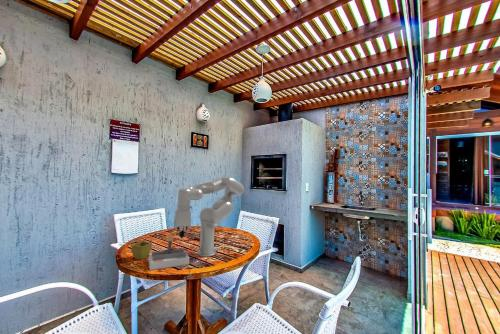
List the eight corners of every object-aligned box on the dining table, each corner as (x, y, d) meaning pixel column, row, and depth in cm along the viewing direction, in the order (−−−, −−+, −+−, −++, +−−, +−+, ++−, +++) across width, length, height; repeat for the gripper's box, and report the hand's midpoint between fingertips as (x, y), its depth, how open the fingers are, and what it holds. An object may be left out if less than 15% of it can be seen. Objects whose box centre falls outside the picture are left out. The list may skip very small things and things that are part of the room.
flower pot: (141, 254, 147) (142, 241, 148) (151, 256, 144) (152, 243, 145) (130, 259, 139) (130, 244, 140) (140, 261, 136) (141, 246, 136)
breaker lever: (171, 253, 139) (172, 234, 140) (173, 256, 134) (174, 236, 134) (165, 254, 137) (166, 234, 138) (166, 257, 132) (167, 237, 133)
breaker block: (184, 256, 147) (185, 246, 147) (189, 264, 134) (189, 253, 135) (148, 261, 136) (149, 251, 137) (149, 270, 124) (150, 258, 124)
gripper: (193, 207, 147) (192, 235, 146) (170, 207, 140) (168, 236, 139) (196, 208, 140) (194, 237, 139) (172, 209, 134) (170, 240, 132)
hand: (181, 237), depth 139 cm, fingers closed
